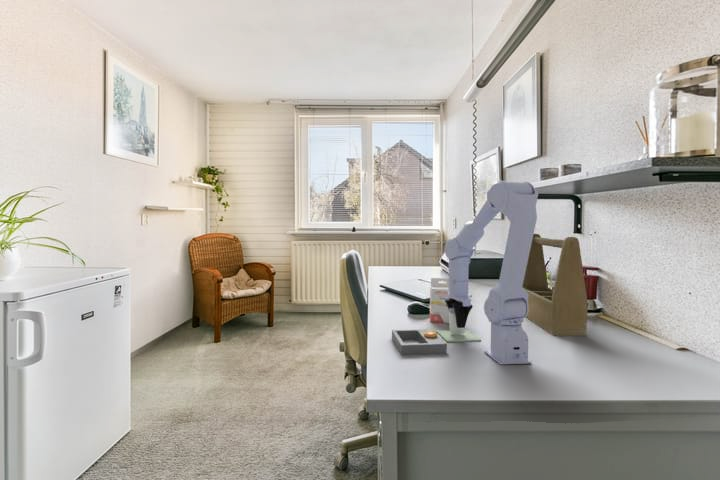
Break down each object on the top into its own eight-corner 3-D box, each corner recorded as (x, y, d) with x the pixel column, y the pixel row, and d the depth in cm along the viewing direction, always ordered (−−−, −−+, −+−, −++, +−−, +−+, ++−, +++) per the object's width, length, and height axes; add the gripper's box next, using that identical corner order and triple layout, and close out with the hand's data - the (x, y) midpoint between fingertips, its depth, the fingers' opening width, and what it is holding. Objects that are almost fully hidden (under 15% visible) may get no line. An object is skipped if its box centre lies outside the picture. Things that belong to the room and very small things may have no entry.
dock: (446, 353, 100) (446, 343, 100) (401, 354, 99) (401, 345, 99) (431, 337, 114) (431, 329, 114) (391, 338, 113) (391, 330, 112)
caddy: (588, 336, 115) (590, 236, 113) (551, 335, 115) (553, 236, 114) (546, 313, 144) (548, 233, 143) (517, 313, 145) (519, 233, 143)
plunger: (438, 345, 105) (438, 335, 105) (426, 345, 105) (426, 335, 104) (435, 341, 108) (435, 331, 108) (422, 341, 108) (422, 331, 108)
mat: (480, 341, 110) (480, 339, 110) (446, 342, 109) (446, 340, 109) (467, 331, 120) (467, 329, 120) (436, 332, 119) (436, 330, 119)
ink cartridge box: (430, 322, 130) (431, 279, 130) (429, 319, 135) (429, 277, 135) (456, 323, 130) (456, 280, 129) (454, 319, 134) (454, 278, 134)
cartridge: (463, 334, 111) (462, 310, 111) (448, 333, 113) (447, 310, 113) (465, 330, 115) (465, 307, 115) (451, 329, 117) (450, 306, 117)
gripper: (481, 283, 107) (480, 331, 107) (462, 276, 121) (462, 318, 122) (456, 284, 106) (456, 332, 107) (441, 276, 121) (440, 319, 121)
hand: (458, 325), depth 114 cm, fingers closed on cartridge, 4 cm apart
